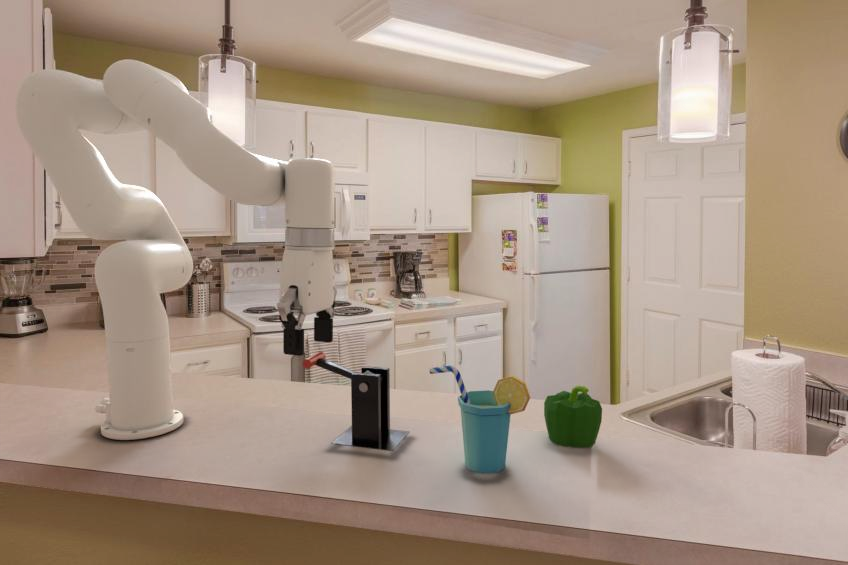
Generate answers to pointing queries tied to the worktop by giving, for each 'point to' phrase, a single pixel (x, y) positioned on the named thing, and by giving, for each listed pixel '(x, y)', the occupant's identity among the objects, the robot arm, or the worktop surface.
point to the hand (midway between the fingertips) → (309, 347)
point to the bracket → (371, 412)
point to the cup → (487, 420)
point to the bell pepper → (573, 418)
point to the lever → (330, 366)
